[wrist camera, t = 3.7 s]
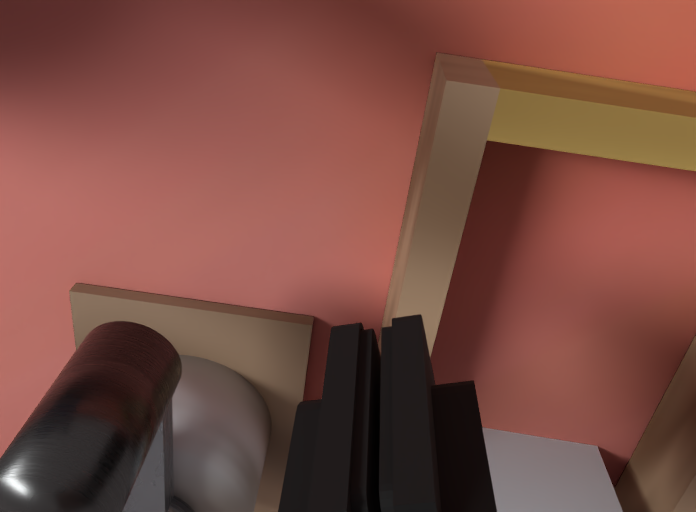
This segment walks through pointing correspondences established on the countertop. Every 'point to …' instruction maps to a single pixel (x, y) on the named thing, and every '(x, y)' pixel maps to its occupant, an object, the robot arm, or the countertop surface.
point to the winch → (219, 390)
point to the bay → (561, 135)
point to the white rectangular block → (547, 474)
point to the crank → (100, 430)
